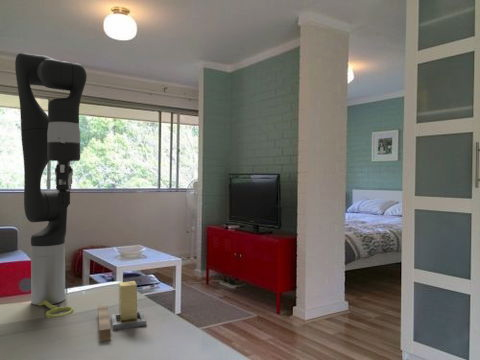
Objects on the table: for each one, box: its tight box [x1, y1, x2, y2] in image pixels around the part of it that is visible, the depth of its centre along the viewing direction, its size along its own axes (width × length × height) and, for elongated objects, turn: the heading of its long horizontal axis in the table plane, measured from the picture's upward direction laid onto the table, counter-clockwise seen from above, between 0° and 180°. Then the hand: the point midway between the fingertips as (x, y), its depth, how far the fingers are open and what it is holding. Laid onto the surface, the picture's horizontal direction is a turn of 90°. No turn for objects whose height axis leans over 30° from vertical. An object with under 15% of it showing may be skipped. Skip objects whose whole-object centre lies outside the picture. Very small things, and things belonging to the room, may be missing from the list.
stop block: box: [118, 280, 138, 323], centre depth 103 cm, size 4×4×10 cm
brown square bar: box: [97, 305, 112, 342], centre depth 101 cm, size 18×2×2 cm, turn 20°
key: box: [37, 300, 75, 319], centre depth 112 cm, size 7×12×2 cm, turn 67°
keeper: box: [110, 310, 147, 331], centre depth 104 cm, size 8×8×1 cm
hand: (64, 206), depth 101 cm, fingers open, 8 cm apart
